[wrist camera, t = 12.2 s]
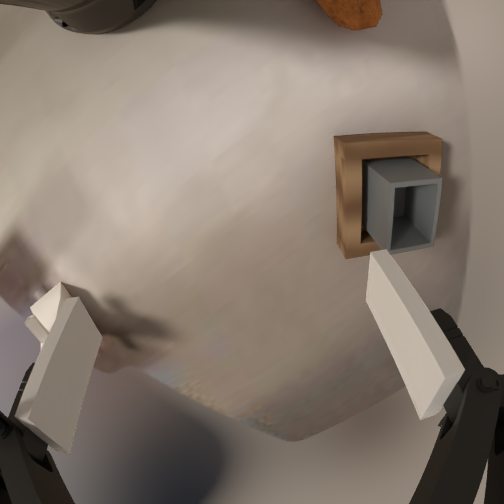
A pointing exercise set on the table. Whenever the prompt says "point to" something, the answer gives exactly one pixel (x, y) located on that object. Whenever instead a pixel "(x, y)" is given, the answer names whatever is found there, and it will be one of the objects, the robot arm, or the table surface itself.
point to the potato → (353, 12)
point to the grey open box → (400, 203)
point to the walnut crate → (350, 178)
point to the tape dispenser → (46, 312)
